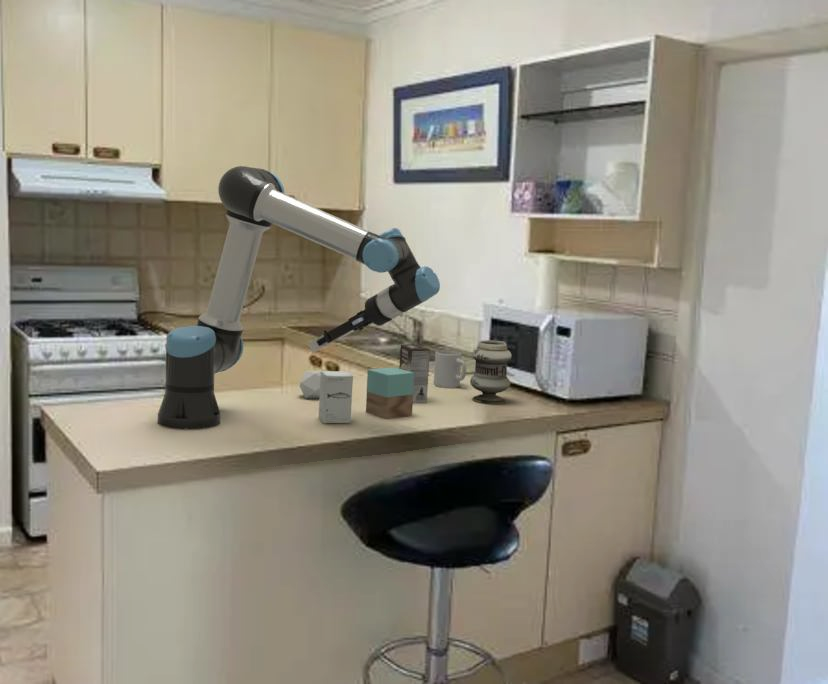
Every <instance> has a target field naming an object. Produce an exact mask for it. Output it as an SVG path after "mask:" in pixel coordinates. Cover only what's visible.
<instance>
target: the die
mask: <svg viewBox="0 0 828 684" xmlns="http://www.w3.org/2000/svg"><path fill="white" fill-rule="evenodd" d="M321 371H322V370H305V371H304V373H303V376H302V378H301V381H300V382H299V383H300V384H299V386H298V387H299V388H300V390H301V392H302V395H303V397H304V399H316V398H320V377H321Z"/></svg>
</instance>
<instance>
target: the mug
mask: <svg viewBox="0 0 828 684" xmlns="http://www.w3.org/2000/svg"><path fill="white" fill-rule="evenodd" d="M434 354H435V355H434V357H435V358H434V373H433V386H434V385H435V386H434V387H437V386H438V388H441V387H445V388H444V389H457V388H456V387H458V388H459V387H460V386H461V385H460V384H461V381H463V380H465V378H466V375H467V364H466V362H465V361H464V360H462V352H460V351H455V350H436V351H435V353H434ZM461 370H462V371H461Z"/></svg>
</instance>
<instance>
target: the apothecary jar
mask: <svg viewBox="0 0 828 684" xmlns="http://www.w3.org/2000/svg"><path fill="white" fill-rule="evenodd" d="M471 354H472V358H473V359H474V360H475V367H474V374H473V375H472V376H471V377H470V379H469V380H470V381H469V382H470V386H471V387H472V388H473V389H475V390H477V391H479V392H481V393H482V394H481V393H480V394H478V395H474V396H473V397H472V401H474V402H475V403H481V404H488V405H501V404H504V403H505V402H506V401H505V398H502V397H501V396H499V395H497V394H499V393H502V392H505V391H507V390H508V389H509V388H510V386H511V381H510V378H509V377H508V376H507V374H508V372H507V370H508V362H510V361H511V360H512V353H511V351H510V350H508V346H507V342H506V341H502V340H501V341H500V340H491V339H489V340H487V339H485V340H484V339H483V340H480V341H478V344H477V347H476V348H474V349H473V351H472V353H471Z"/></svg>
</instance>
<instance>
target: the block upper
mask: <svg viewBox="0 0 828 684" xmlns="http://www.w3.org/2000/svg"><path fill="white" fill-rule="evenodd" d="M366 379H367V380H366V393H367V392H371V393H374V394H377V395H381V396H384V397H396V396H404V395H413V385H414V373H413V372H409V371H405V370H401V369H399V368H397V367H383V368H382V367H381V368H371V369H367V377H366Z"/></svg>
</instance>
